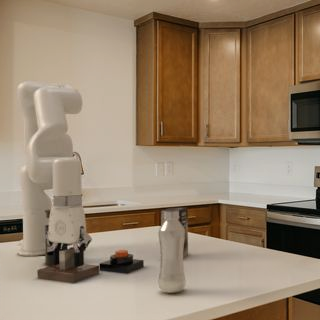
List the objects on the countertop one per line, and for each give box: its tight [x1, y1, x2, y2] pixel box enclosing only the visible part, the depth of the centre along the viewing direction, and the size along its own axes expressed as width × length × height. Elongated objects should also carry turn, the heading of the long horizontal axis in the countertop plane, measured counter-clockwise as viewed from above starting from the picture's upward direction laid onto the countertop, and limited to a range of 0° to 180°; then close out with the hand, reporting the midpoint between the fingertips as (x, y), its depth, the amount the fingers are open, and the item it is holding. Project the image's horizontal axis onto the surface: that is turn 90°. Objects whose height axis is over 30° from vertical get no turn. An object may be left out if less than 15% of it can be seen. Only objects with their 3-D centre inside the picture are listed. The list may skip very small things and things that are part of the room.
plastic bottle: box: [157, 210, 186, 294], centre depth 112 cm, size 6×7×20 cm
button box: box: [98, 253, 145, 275], centre depth 135 cm, size 10×8×4 cm
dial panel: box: [36, 263, 100, 284], centre depth 127 cm, size 13×10×3 cm
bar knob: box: [59, 246, 76, 270], centre depth 127 cm, size 5×2×5 cm, turn 156°
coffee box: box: [160, 207, 189, 259], centre depth 150 cm, size 9×6×16 cm
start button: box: [114, 249, 129, 257], centre depth 135 cm, size 4×4×2 cm
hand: (68, 264), depth 127 cm, fingers open, 6 cm apart
